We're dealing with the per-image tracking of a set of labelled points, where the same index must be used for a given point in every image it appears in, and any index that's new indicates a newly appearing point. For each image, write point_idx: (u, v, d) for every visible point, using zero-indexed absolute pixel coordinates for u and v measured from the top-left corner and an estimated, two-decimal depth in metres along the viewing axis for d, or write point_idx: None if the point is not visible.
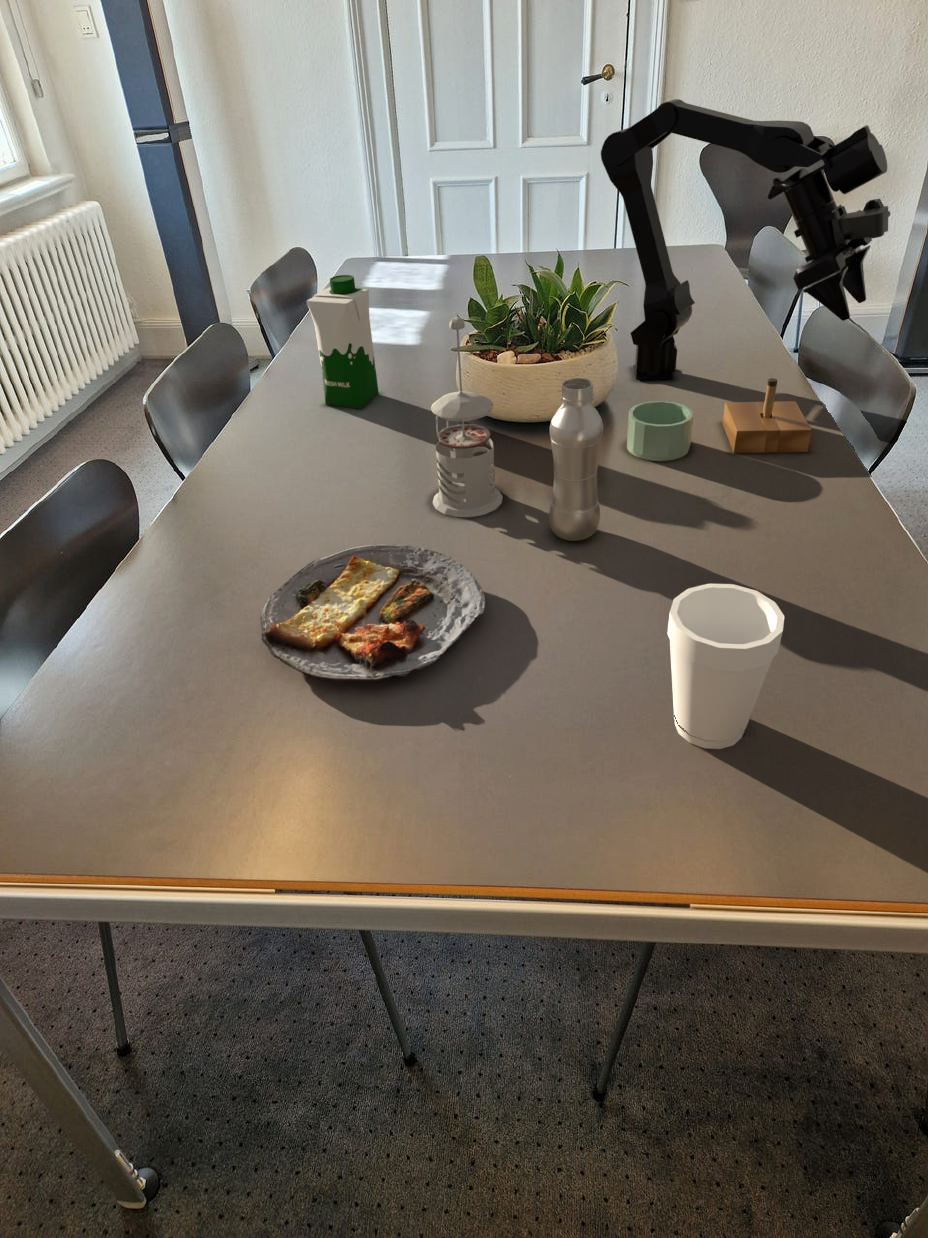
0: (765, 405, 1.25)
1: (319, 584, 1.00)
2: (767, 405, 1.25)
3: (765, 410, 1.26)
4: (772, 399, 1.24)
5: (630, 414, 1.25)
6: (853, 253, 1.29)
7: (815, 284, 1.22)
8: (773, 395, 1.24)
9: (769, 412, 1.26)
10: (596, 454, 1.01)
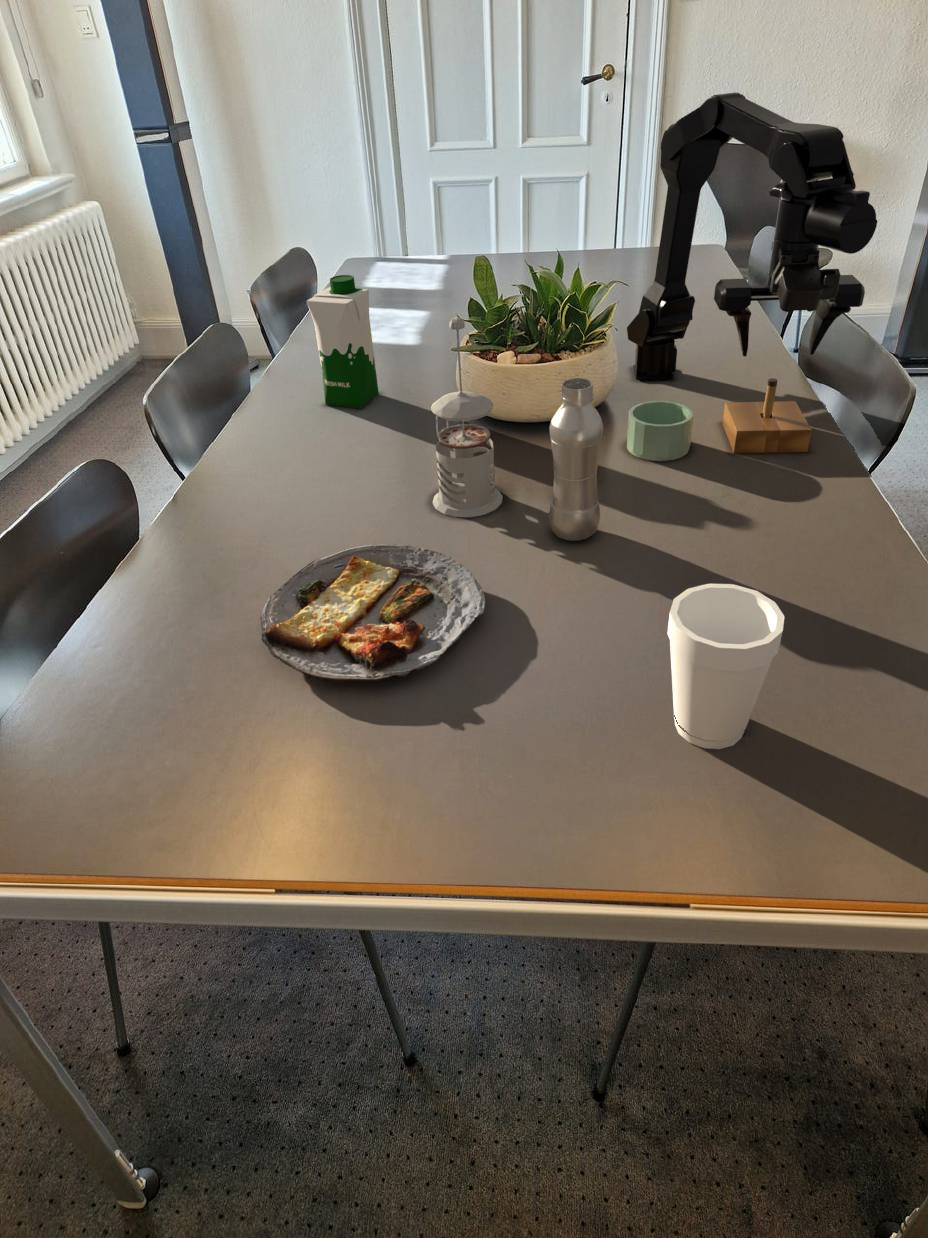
0: (765, 405, 1.25)
1: (319, 584, 1.00)
2: (767, 405, 1.25)
3: (765, 410, 1.26)
4: (772, 399, 1.24)
5: (630, 414, 1.25)
6: (828, 304, 1.16)
7: None
8: (773, 395, 1.24)
9: (769, 412, 1.26)
10: (596, 454, 1.01)
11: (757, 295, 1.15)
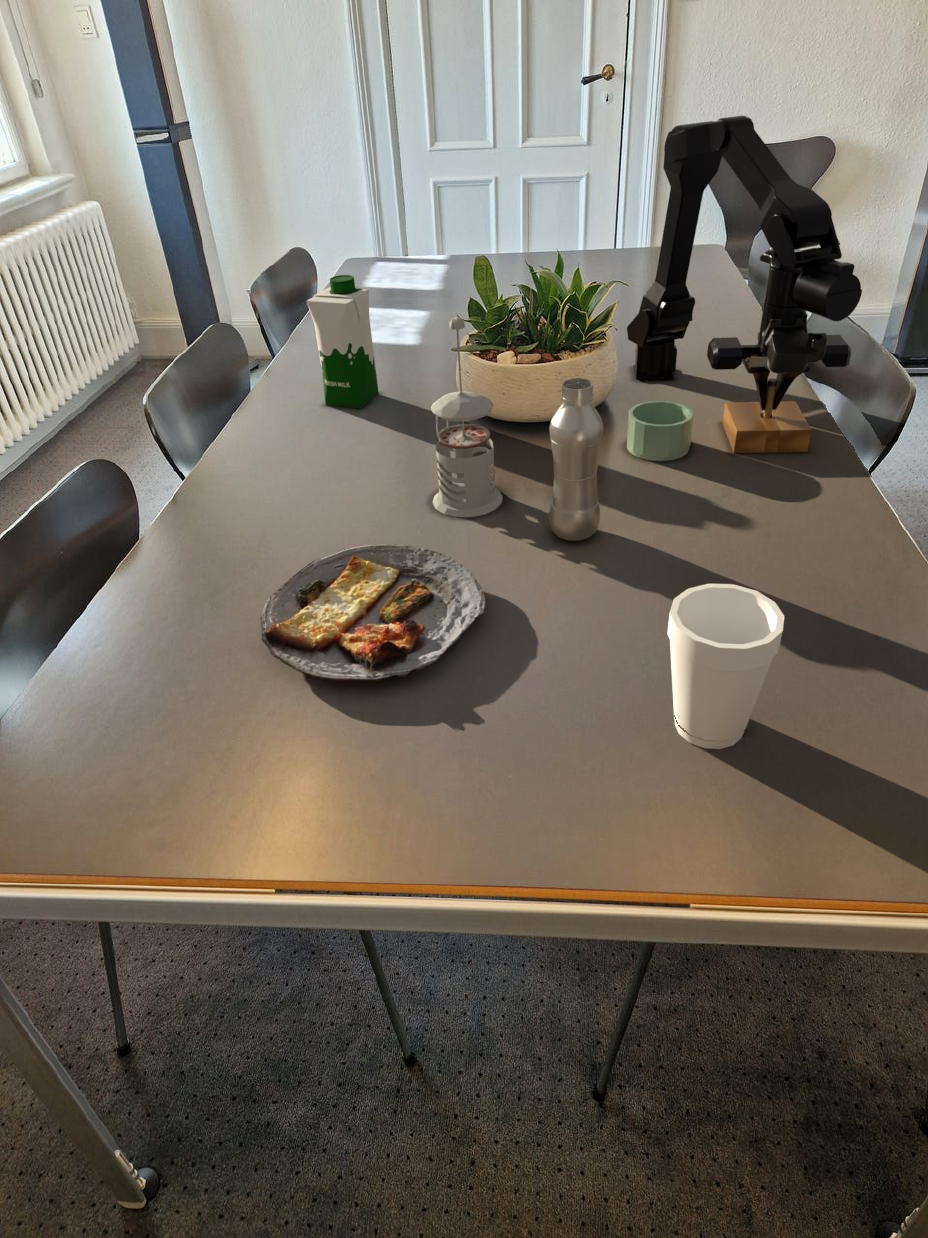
0: None
1: (319, 584, 1.00)
2: (767, 405, 1.25)
3: (765, 410, 1.26)
4: (772, 399, 1.24)
5: (630, 414, 1.25)
6: None
7: (744, 361, 1.23)
8: (773, 395, 1.24)
9: (769, 412, 1.26)
10: (596, 454, 1.01)
11: None
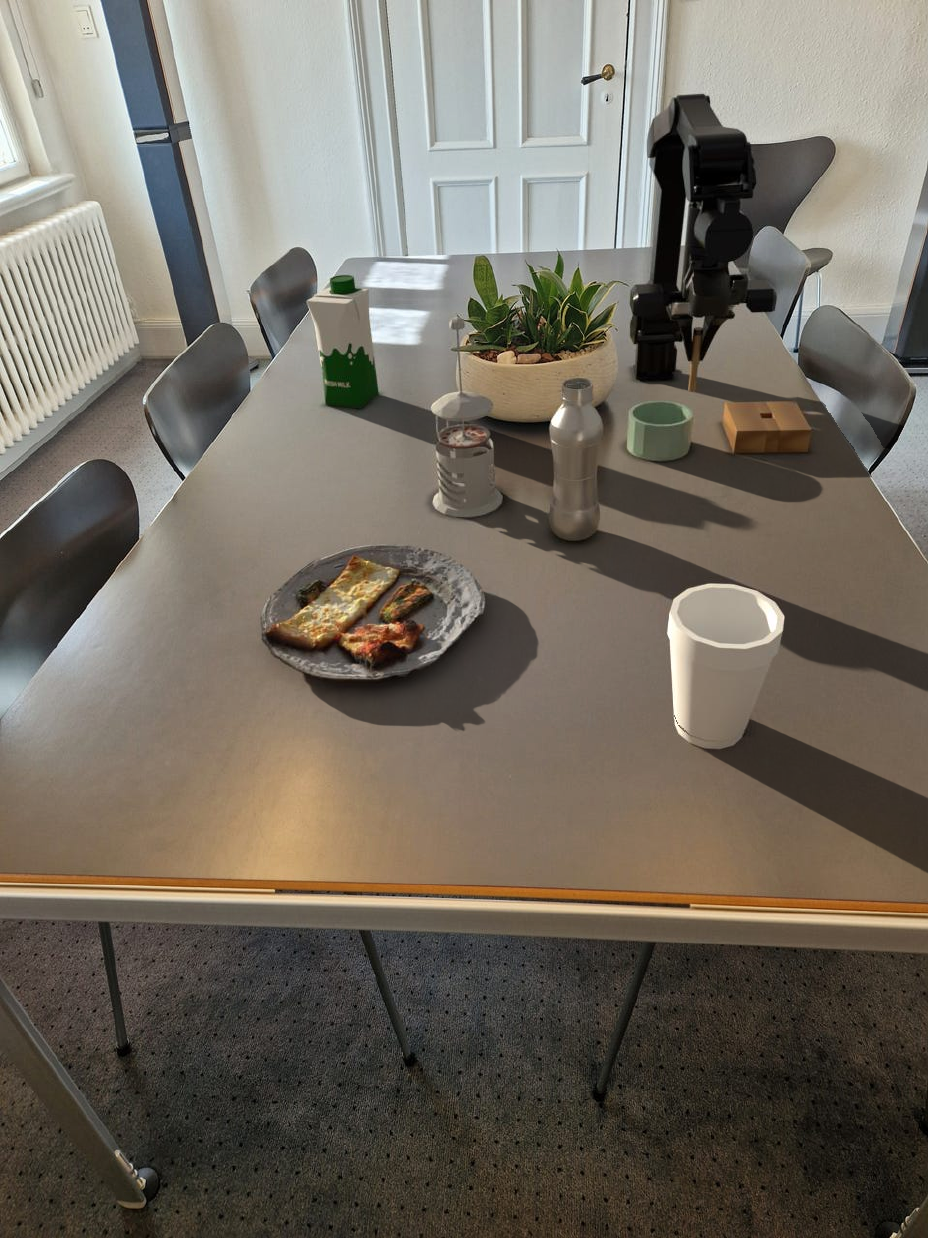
0: None
1: (319, 584, 1.00)
2: (693, 356, 1.19)
3: (692, 361, 1.20)
4: (698, 349, 1.19)
5: (630, 414, 1.25)
6: None
7: (668, 309, 1.17)
8: (699, 345, 1.18)
9: (696, 363, 1.20)
10: (596, 454, 1.01)
11: None
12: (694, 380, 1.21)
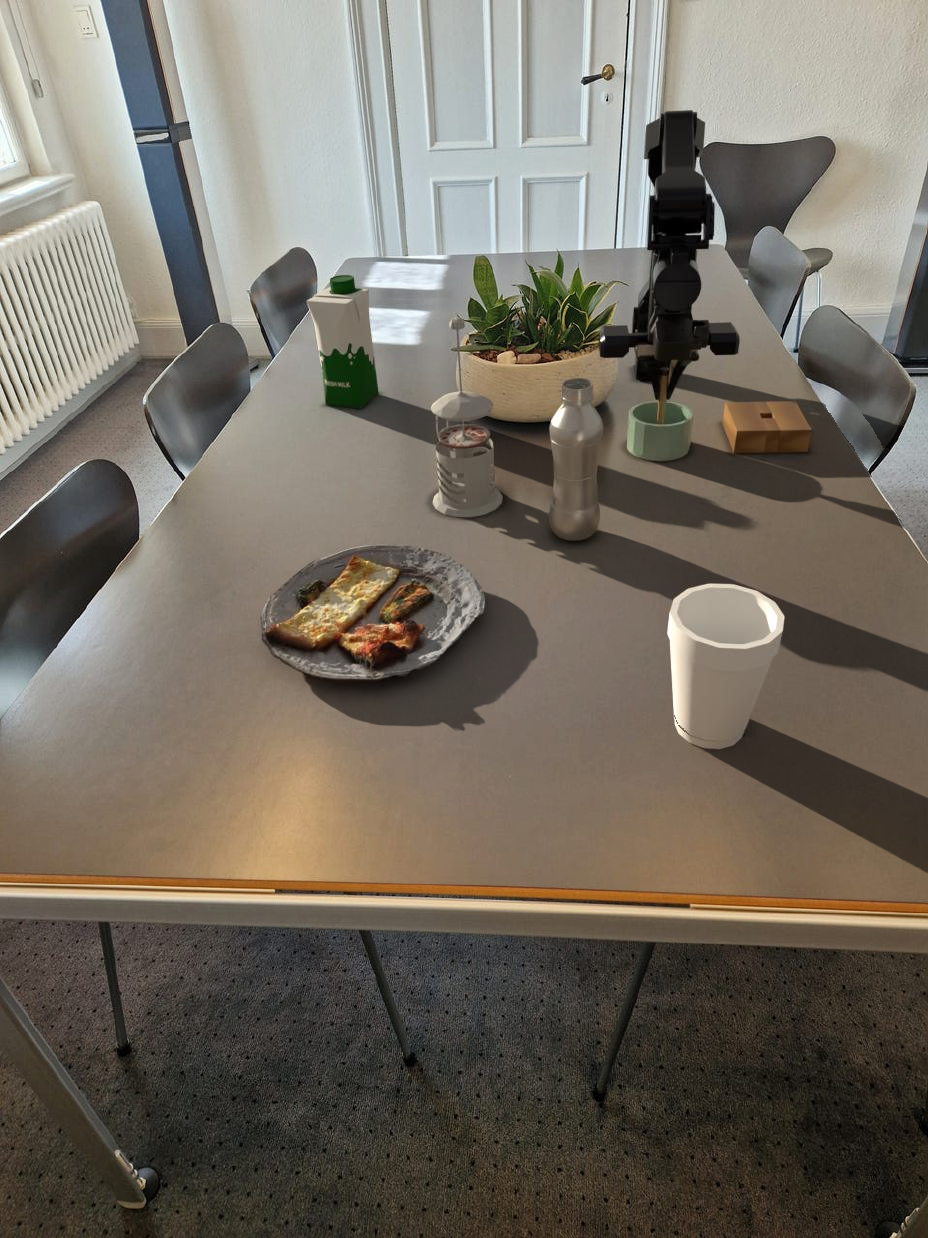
0: (659, 395, 1.23)
1: (319, 584, 1.00)
2: (660, 395, 1.22)
3: (659, 400, 1.23)
4: (665, 388, 1.22)
5: (630, 414, 1.25)
6: None
7: (635, 350, 1.20)
8: (666, 384, 1.21)
9: (663, 402, 1.23)
10: (596, 454, 1.01)
11: None
12: (661, 417, 1.25)
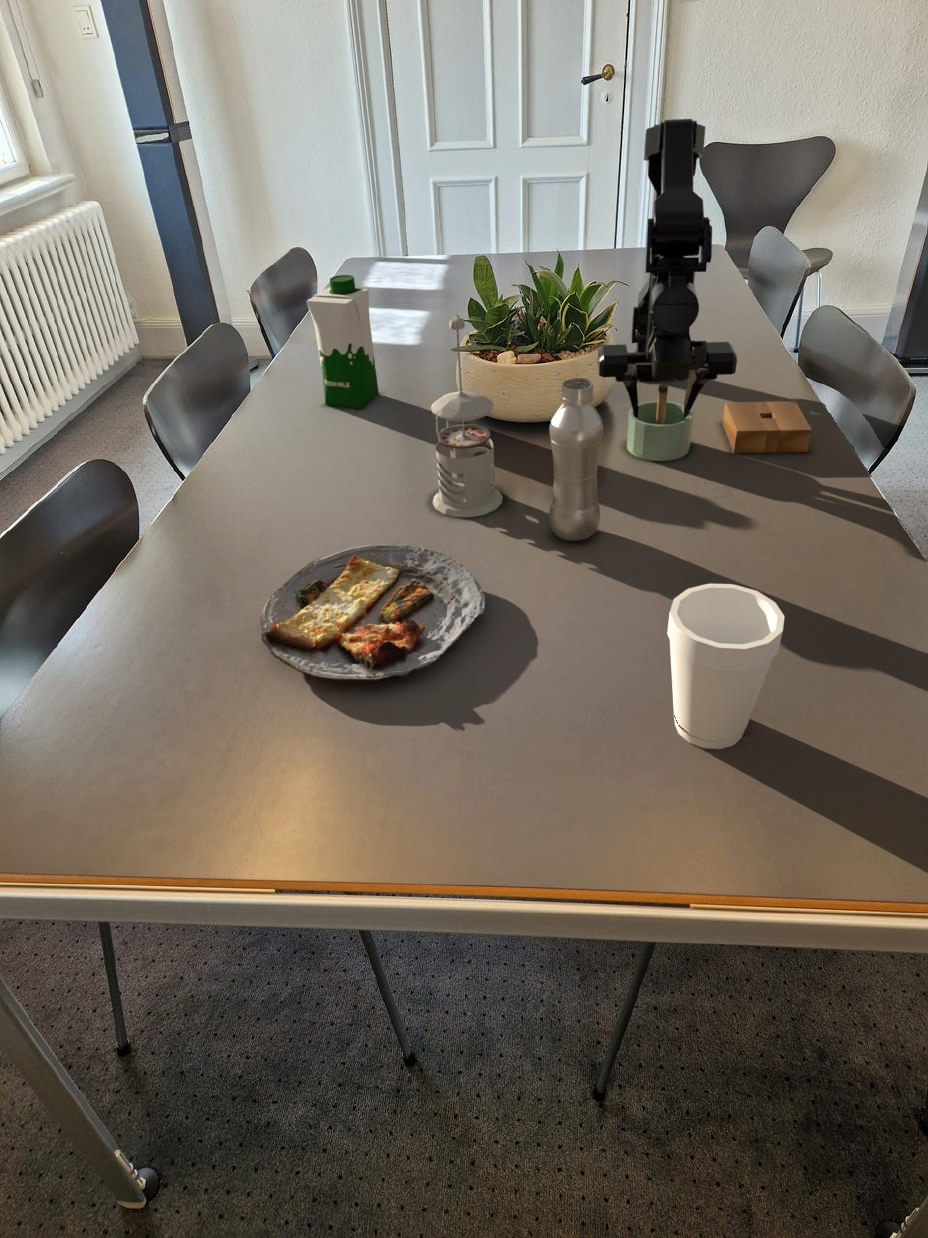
0: (657, 411, 1.24)
1: (319, 584, 1.00)
2: (659, 411, 1.24)
3: (658, 416, 1.25)
4: (663, 405, 1.23)
5: (630, 414, 1.25)
6: (697, 371, 1.19)
7: None
8: (664, 401, 1.23)
9: (661, 418, 1.24)
10: (596, 454, 1.01)
11: (642, 362, 1.19)
12: None
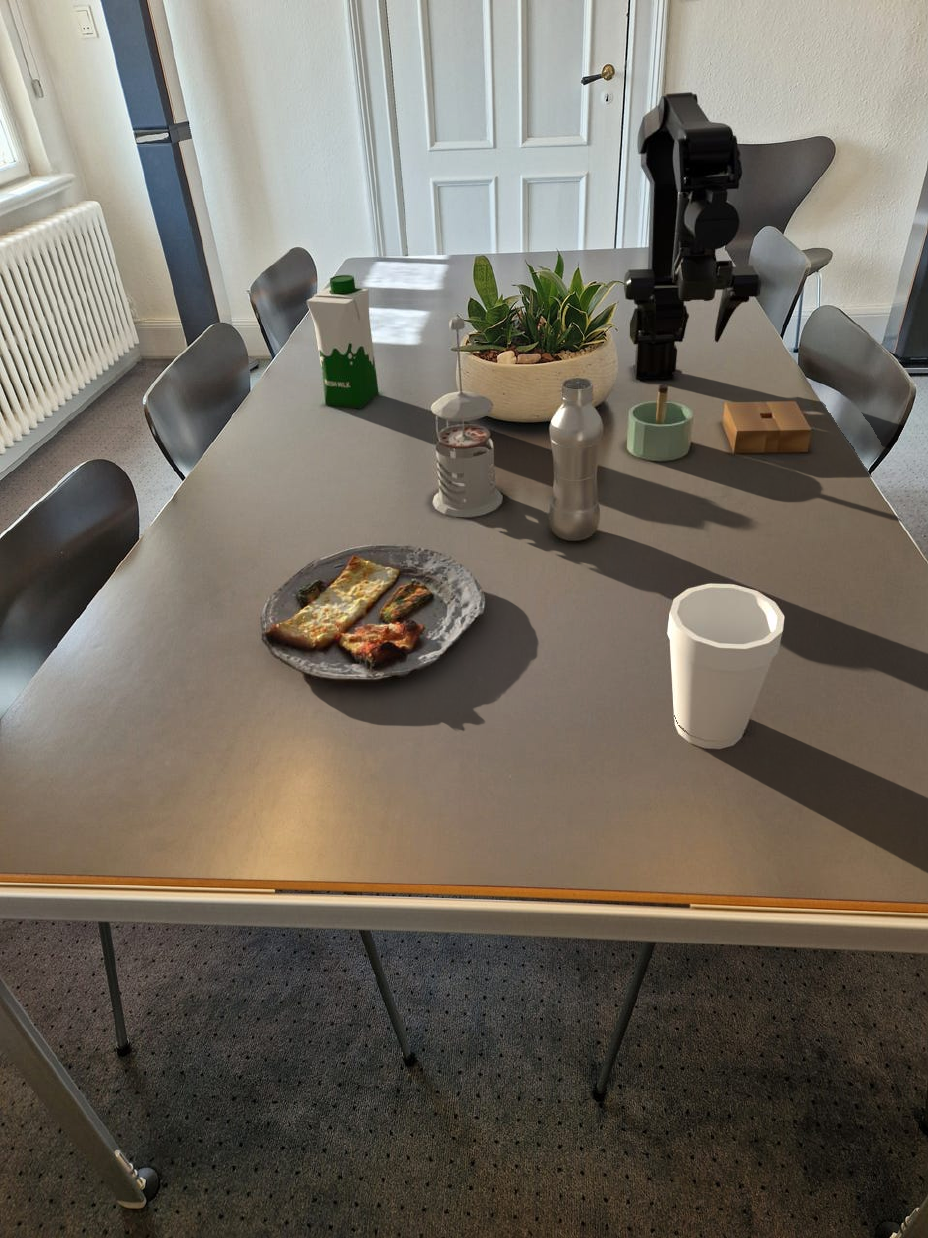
0: (657, 411, 1.24)
1: (319, 584, 1.00)
2: (659, 411, 1.24)
3: (658, 416, 1.25)
4: (663, 405, 1.23)
5: (630, 414, 1.25)
6: (729, 294, 1.22)
7: None
8: (664, 401, 1.23)
9: (661, 418, 1.24)
10: (596, 454, 1.01)
11: (661, 285, 1.21)
12: None
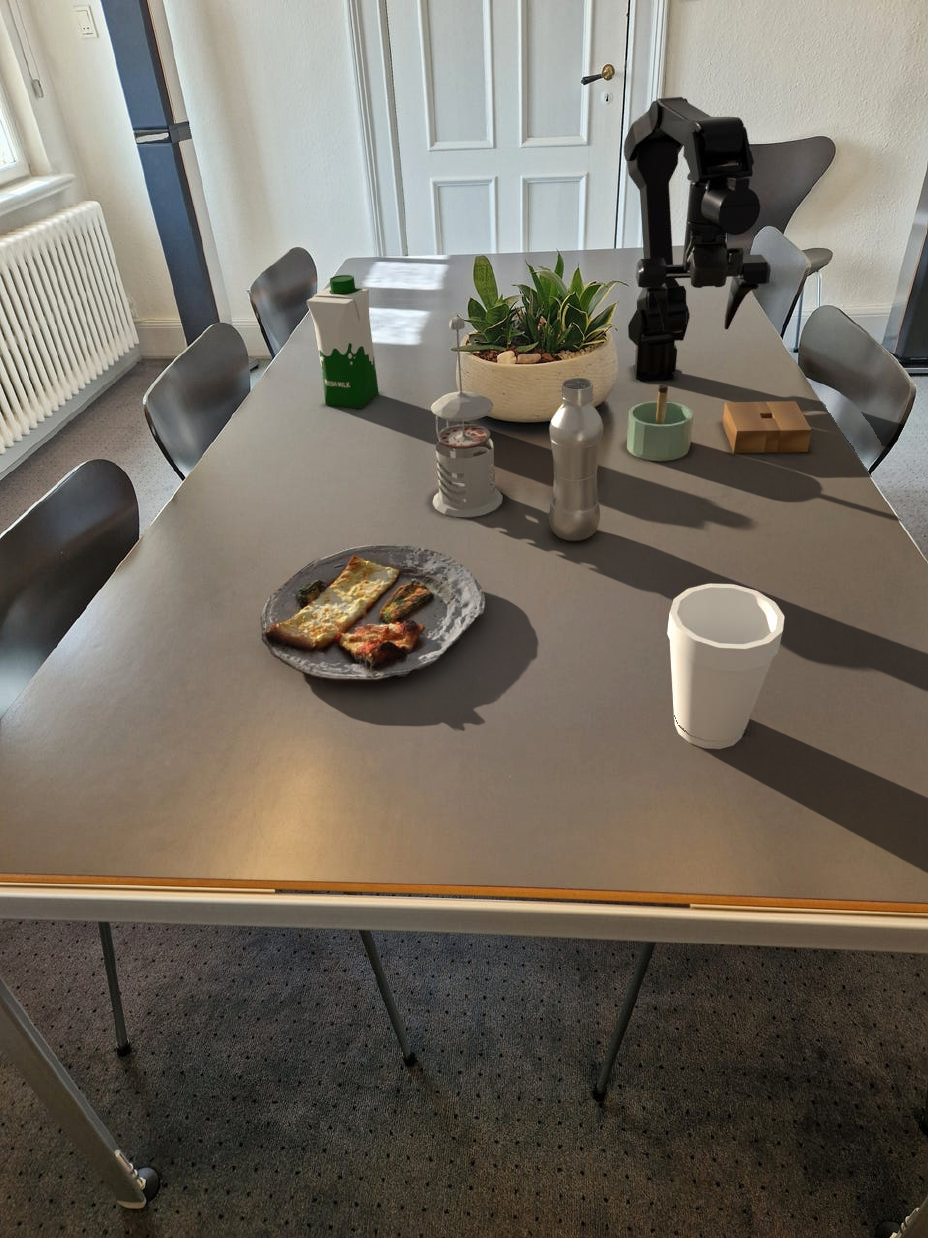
0: (657, 411, 1.24)
1: (319, 584, 1.00)
2: (659, 411, 1.24)
3: (658, 416, 1.25)
4: (663, 405, 1.23)
5: (630, 414, 1.25)
6: (739, 281, 1.25)
7: None
8: (664, 401, 1.23)
9: (661, 418, 1.24)
10: (596, 454, 1.01)
11: (673, 273, 1.25)
12: None
